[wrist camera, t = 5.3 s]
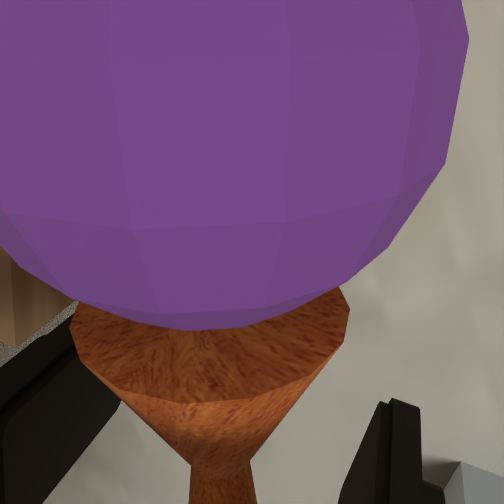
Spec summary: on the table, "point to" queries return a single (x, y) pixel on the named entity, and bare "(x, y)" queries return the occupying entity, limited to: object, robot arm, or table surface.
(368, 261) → the kendama
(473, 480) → the dusty blue block
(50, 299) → the walnut block
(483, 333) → the table surface
